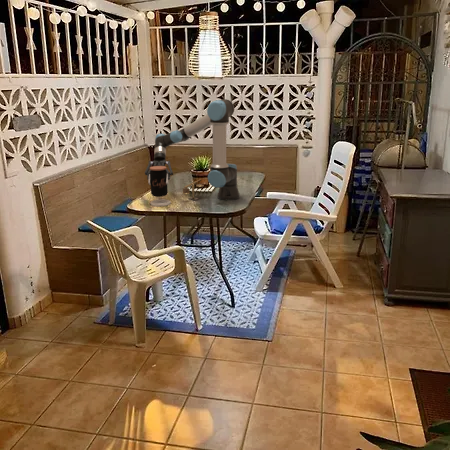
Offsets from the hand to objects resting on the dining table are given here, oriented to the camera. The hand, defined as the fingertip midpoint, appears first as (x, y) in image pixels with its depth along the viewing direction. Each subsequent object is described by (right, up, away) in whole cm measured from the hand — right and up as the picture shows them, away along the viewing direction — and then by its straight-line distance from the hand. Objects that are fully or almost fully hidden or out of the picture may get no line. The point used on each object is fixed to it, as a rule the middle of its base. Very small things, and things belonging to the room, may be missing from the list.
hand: (158, 183), depth 303 cm
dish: (+1, -13, +7) cm, 14 cm away
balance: (+21, -9, +16) cm, 28 cm away
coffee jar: (0, -7, +5) cm, 9 cm away
